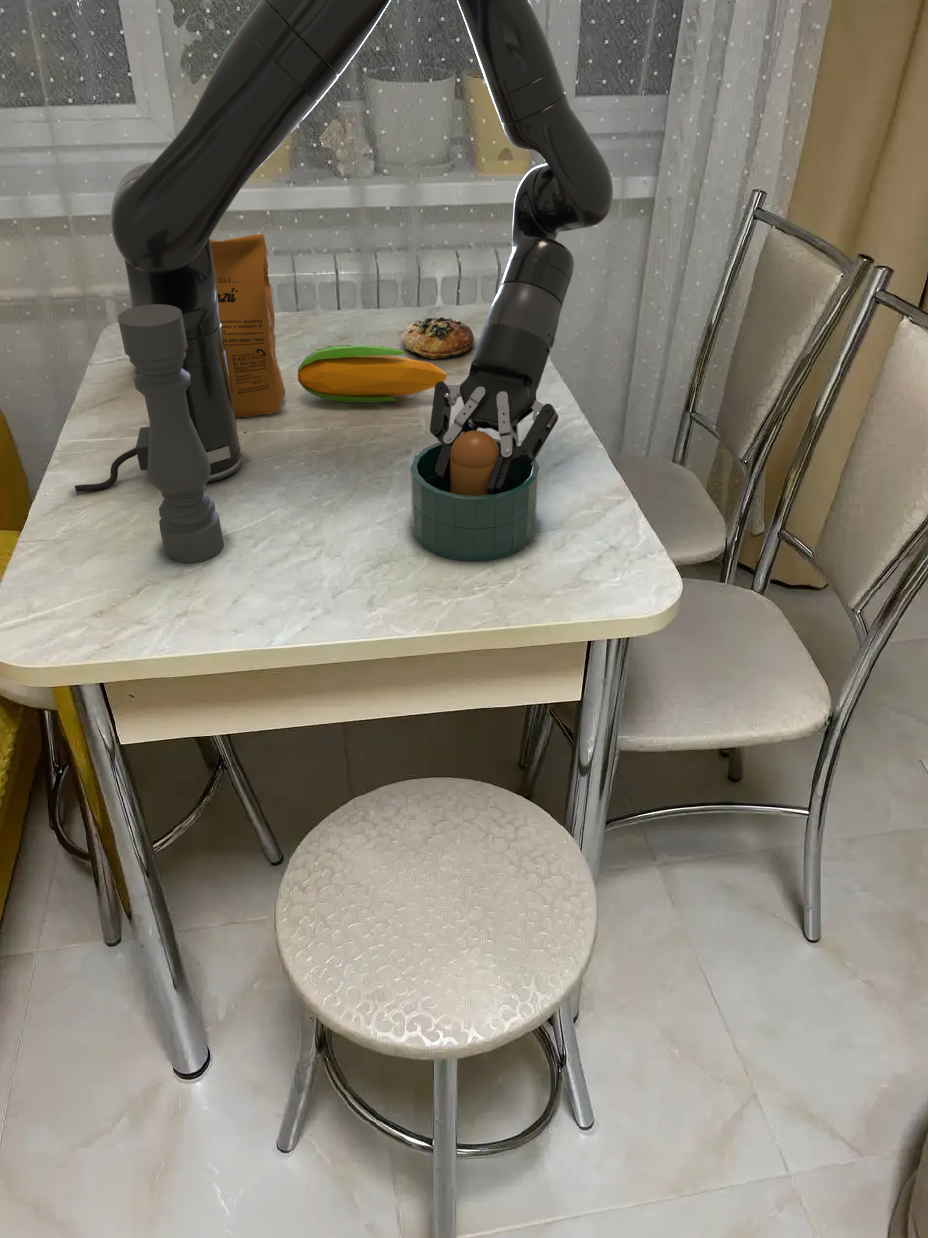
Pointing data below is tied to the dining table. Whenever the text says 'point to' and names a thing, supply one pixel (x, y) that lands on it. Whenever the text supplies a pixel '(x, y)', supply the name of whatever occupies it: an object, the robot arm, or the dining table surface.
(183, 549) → the candle holder
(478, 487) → the brown rounded cylinder
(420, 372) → the corn
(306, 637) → the dining table surface
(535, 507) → the pot
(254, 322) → the coffee package
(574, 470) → the dining table surface
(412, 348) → the bread roll
